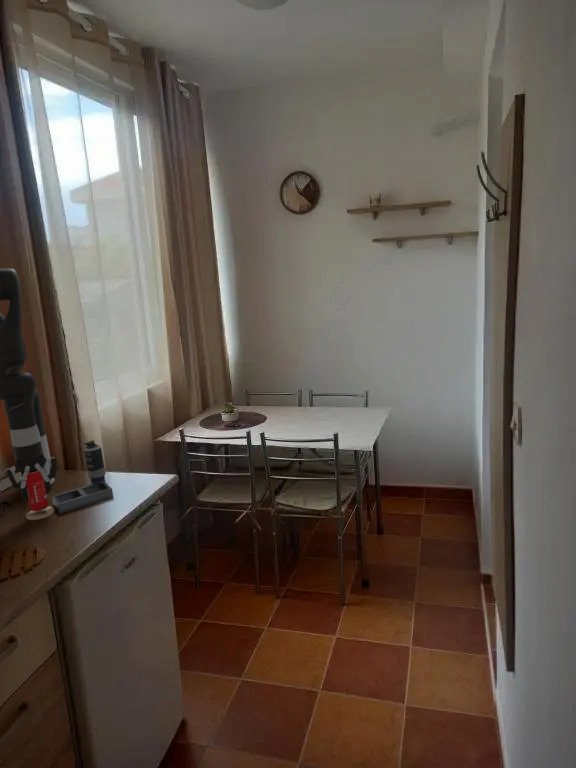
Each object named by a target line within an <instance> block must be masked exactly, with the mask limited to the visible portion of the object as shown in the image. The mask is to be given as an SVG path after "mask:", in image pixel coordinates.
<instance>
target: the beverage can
mask: <svg viewBox="0 0 576 768" xmlns="http://www.w3.org/2000/svg"><path fill="white" fill-rule="evenodd" d="M25 477H27V481H26V485H25V487H26V488H27V493H28V498H29V499H28V500H27V501H28V502H27V503H28V506H29V508H30V509H31V510H30V511H41V510H44V509H46V508H47V507H48V505H49V499H48V494H47V493H46V487H45V482H44V478H43V476H42V474H41V472H40V471H39V470H37V471H35V472H29V473H27V476H25Z"/></svg>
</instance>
